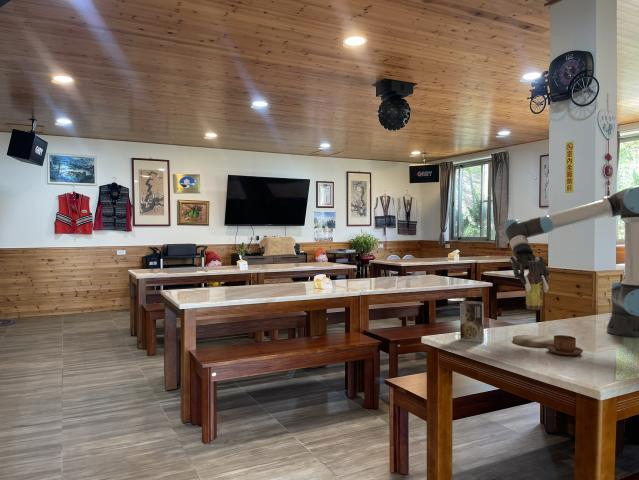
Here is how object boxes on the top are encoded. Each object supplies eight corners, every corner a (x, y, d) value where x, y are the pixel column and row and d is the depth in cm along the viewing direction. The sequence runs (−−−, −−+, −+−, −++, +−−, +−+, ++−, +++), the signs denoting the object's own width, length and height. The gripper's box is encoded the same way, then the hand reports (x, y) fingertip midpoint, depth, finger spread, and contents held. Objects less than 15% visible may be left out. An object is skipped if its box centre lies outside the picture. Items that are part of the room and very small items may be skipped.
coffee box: (484, 339, 198) (484, 301, 198) (482, 343, 192) (482, 303, 192) (461, 338, 202) (461, 300, 201) (459, 341, 196) (459, 302, 196)
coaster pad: (561, 342, 192) (561, 339, 192) (546, 349, 181) (546, 345, 181) (522, 336, 204) (522, 333, 204) (506, 342, 192) (506, 339, 192)
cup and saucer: (582, 359, 167) (582, 342, 167) (545, 355, 174) (545, 338, 174) (583, 352, 178) (583, 336, 177) (548, 348, 184) (548, 332, 184)
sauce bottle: (544, 310, 188) (544, 261, 188) (527, 310, 190) (527, 261, 189) (540, 308, 195) (540, 260, 195) (524, 307, 196) (524, 260, 196)
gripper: (540, 253, 207) (558, 295, 191) (496, 254, 207) (511, 295, 191) (546, 242, 202) (565, 284, 186) (501, 242, 202) (516, 284, 186)
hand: (537, 289), depth 188 cm, fingers closed on sauce bottle, 6 cm apart
